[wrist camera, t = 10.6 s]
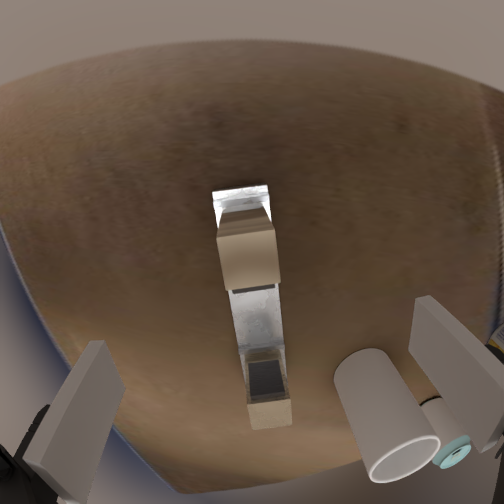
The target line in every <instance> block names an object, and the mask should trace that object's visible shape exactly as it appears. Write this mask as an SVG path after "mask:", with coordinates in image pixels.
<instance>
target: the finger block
mask: <svg viewBox="0 0 504 504" xmlns="http://www.w3.org/2000/svg"><path fill="white" fill-rule="evenodd" d="M216 239H217V245H218V250H219V256H220V262H221V267H222V273H223V278H224V284H225V289H226V291H227V290H232V293H233V294H238V293H245V292H252V291H259V290H266V289H273V288H275V284H276V283H281V280H280V271H279V262H278V253H277V244H276V236H275V229H274V227H273V225H272V222H271V220H270V218H269V216H268V214H267V212H266V210H265V208H256V209H249V210H242V211H236V212H229V213H222V214H221V217H220V222H219V227H218V232H217V237H216Z"/></svg>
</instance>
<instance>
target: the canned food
mask: <svg viewBox="0 0 504 504" xmlns="http://www.w3.org/2000/svg"><path fill="white" fill-rule="evenodd" d="M487 344H490V345H492V346H494V347H496V348H498V349H500V350H501V351H502V352H503V353H504V323H503V324H501V325H500V326H499V327H498V328H497V329H496V330H495V332H494V333H493V334H492V336H491V337H490V339H489V341H488V343H487Z"/></svg>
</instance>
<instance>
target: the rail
mask: <svg viewBox="0 0 504 504" xmlns="http://www.w3.org/2000/svg"><path fill="white" fill-rule="evenodd" d="M212 193H213V200H214V201H213V205H214V209H215V213H216V219H217V225H218V227H219V222H220V217H221V214H222V213H229V212H236V211H242V210H249V209H256V208H265V210H266V212H267V214H268V216H269V218H270V220H271V214H270V206H269V201H270V199H269V194H268V189H267V184H266V183H258V184H250V185H243V186H235V187H228V188H221V189H214V190H213V192H212ZM228 292H229V298H230V303H231V309H232V315H233V320H234V326H235V331H236V337H237V342H238V351H239V355H240V358H241V364H242V369H243V374H244V379H245V385H246V395H247V407H248V411H249V416H250V421H251V426H252V430H258V429H266V428H273V427H280V426H287V425H292V414H291V401H290V395H289V390H288V381H287V374H286V363H285V352H284V349H285V345H284V340H283V330H282V319H281V309H280V299H279V289H278V283H276V284H275V288H273V289H266V290H259V291H252V292H245V293H238V294H233V293H232V290H228Z"/></svg>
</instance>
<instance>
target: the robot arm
mask: <svg viewBox="0 0 504 504" xmlns="http://www.w3.org/2000/svg"><path fill="white" fill-rule="evenodd" d="M408 351H409V352H410V353H411V355H412V356H413V357H414V359H415V360H416V362H417V363H418V364H419V366H420V367H421V368H422V370H423V371H424V372H425V374H426V375H427V377H428V378H429V379H430V381H431V382H432V384H433V385H434V386H435V388H436V389H437V391H438V392H439V393H440V395H441V396H442V398H443V399H444V401H445V402H446V403H447V405H448V406H449V408H450V409H451V411H452V412H453V414H454V415H455V417H456V418H457V420H458V421H459V422H460V424H461V425H462V427H463V428H464V430H465V431H466V433H467V435H468V436H469V438H470V439H471V441H472V442H473V444H474V445H475V446H476V448H477V450H478V451H479V453H482V452H484V451H486V450H488V449H489V448H491V447H493V446H494V445H496V443H497V442H498V440H499V439H500V437H501V435H502V434H503V436H504V353H503V352H502V351H501V350H500V349H498V348H496V347H494V346H492V345H490V344H487V345H483V344H482V343H481V342H480V341H479V340H478V339H477V338H476V337H475V336H474V335H473V334H472V333H471V332H470V331H469V330H468V329H467V328H466V327H464V326H463V325H462V324H461V323H460V322H459V321H458V320H457V319H456V318H455V317H454V316H453V315H452V314H450V313H449V312H448V311H447V310H446V309H445V308H444V307H443V306H442V305H440V304H439V303H438V302H437V301H436V300H435V299H434V298H433V297H432V296H430V295H428V296H424V297H419V298H415V307H414V315H413V322H412V329H411V336H410V342H409V348H408ZM125 389H126V388H125V386H124V384H123V382H122V379H121V377H120V375H119V373H118V371H117V368H116V366H115V364H114V361H113V359H112V357H111V354H110V352H109V349H108V347H107V344H106V342H105V340H99V341H90V342H89V343H88V345H87V346H86V348H85V349H84V351H83V353H82V354H81V356H80V357H79V359H78V361H77V362H76V364H75V365H74V367H73V369H72V370H71V372H70V374H69V375H68V377H67V378H66V380H65V382H64V383H63V385H62V387H61V388H60V390H59V392H58V394H57V395H56V397H55V399H54V401H53V402H52V404H51V405H46V406H45V407H44V408H42V409H41V410H40V411H39V412H38V414H37V415H36V417H35V419H34V421H33V424H31V426H30V427H29V429H28V432H27V433H26V435H25V436H24V438H23V440H22V442H21V444H20V446H19V448H18V449H17V451H16V453H15V455H14V457H12V456H11V455H10V454H9V453H8V452H7V450H6V449H5V448H4V447H3V446H2V445H1V444H0V504H58V503H57V502H56V501H57V498H58V496H59V497H61V498H62V499H63V500H64V501H65V502H66V503H67V504H86V502H87V498H88V495H89V492H90V489H91V486H92V482H93V479H94V476H95V473H96V470H97V467H98V464H99V461H100V458H101V455H102V452H103V449H104V446H105V443H106V441H107V438H108V435H109V432H110V429H111V426H112V424H113V421H114V418H115V415H116V413H117V410H118V407H119V405H120V402H121V399H122V397H123V394H124V392H125ZM501 452H502V456H501V462H500V468H499V473H498V479H497V483H496V488H495V492H494V497H493V501H492V504H504V443H503V445H502V446H501V448H500V449H499V451H498V452H497V454H496V456H495V458H496V459H497V458H498V457H499V455H500V454H501Z"/></svg>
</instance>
